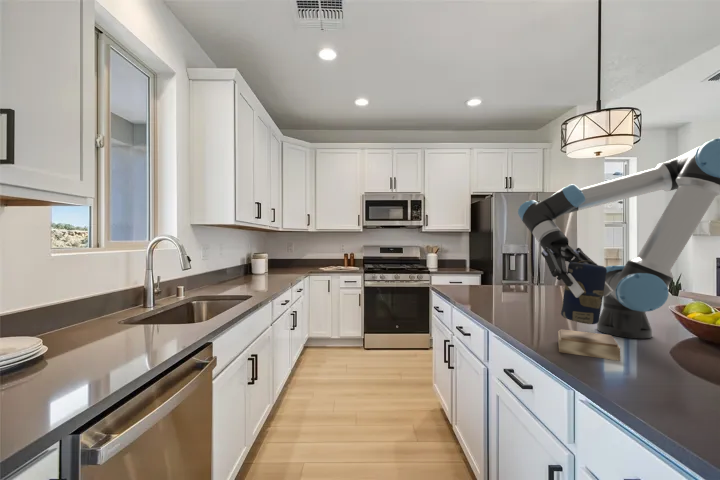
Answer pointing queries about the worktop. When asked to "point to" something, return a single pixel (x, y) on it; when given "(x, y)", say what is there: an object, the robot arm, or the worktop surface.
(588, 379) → the worktop surface
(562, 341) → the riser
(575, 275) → the canister
